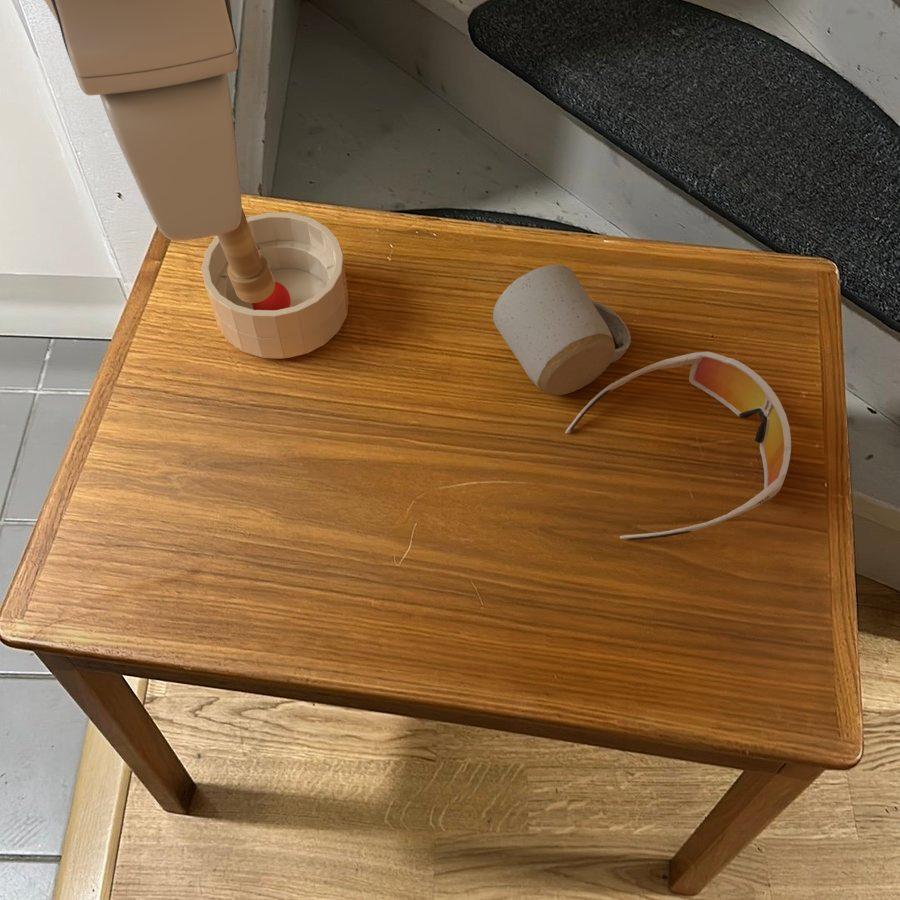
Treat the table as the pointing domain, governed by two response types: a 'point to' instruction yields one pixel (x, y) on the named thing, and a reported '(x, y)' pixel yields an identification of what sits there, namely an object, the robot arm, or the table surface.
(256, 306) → the red ball
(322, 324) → the bowl
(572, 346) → the ceramic mug
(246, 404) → the table surface
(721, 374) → the sunglasses
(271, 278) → the stir stick
